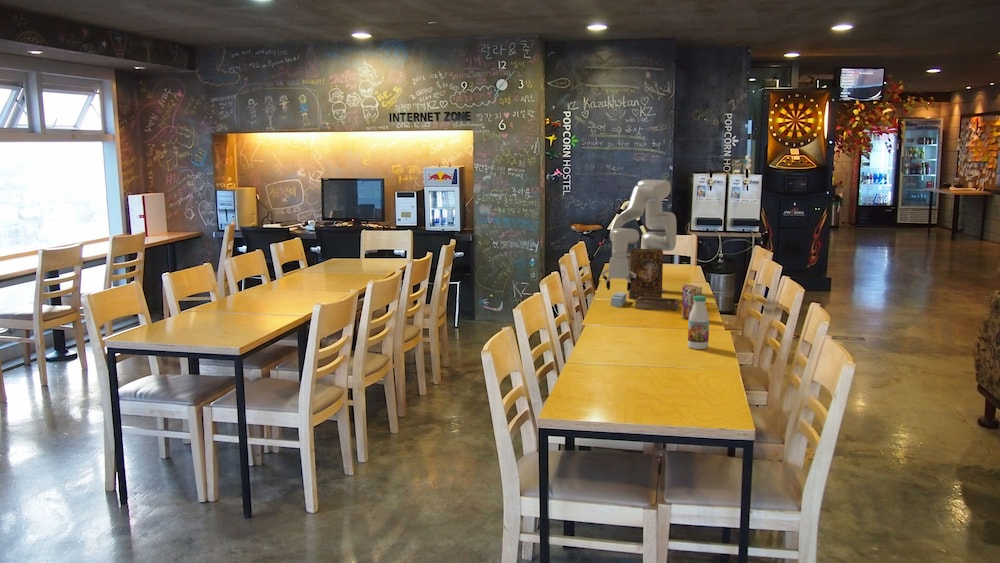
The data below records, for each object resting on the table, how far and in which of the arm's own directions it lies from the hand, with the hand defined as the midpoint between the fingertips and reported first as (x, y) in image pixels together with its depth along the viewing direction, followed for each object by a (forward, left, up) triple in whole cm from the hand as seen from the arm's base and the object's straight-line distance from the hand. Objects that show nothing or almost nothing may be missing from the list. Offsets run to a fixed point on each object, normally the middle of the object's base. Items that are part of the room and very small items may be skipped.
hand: (618, 290), depth 387 cm
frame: (+2, +19, -7) cm, 21 cm away
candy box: (+25, +37, -7) cm, 45 cm away
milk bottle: (+75, +43, -7) cm, 87 cm away
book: (-19, +11, -7) cm, 23 cm away
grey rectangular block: (-1, 0, -7) cm, 7 cm away
